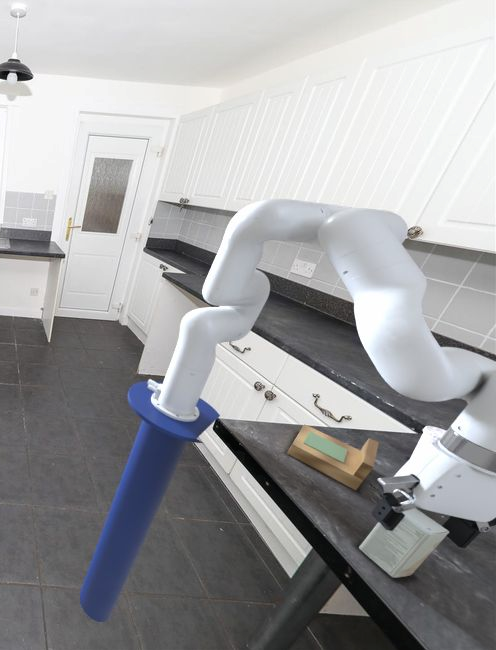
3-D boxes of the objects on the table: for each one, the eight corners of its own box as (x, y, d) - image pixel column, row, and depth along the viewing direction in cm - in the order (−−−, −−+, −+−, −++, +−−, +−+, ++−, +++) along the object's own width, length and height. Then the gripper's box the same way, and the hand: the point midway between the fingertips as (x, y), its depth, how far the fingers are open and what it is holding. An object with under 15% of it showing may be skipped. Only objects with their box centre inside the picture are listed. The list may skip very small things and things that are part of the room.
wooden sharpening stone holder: (286, 453, 81) (300, 431, 78) (299, 432, 88) (311, 412, 85) (355, 490, 72) (373, 467, 69) (362, 464, 80) (378, 442, 77)
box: (411, 576, 56) (453, 533, 52) (391, 578, 55) (433, 536, 51) (374, 543, 61) (410, 502, 57) (355, 545, 60) (390, 504, 56)
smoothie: (399, 461, 82) (435, 416, 76) (402, 451, 85) (436, 408, 80) (440, 480, 77) (481, 434, 72) (441, 469, 81) (481, 424, 75)
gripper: (525, 447, 50) (454, 523, 56) (390, 422, 53) (337, 497, 59) (598, 489, 43) (508, 570, 50) (439, 457, 46) (373, 538, 53)
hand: (415, 530), depth 55 cm, fingers open, 9 cm apart
